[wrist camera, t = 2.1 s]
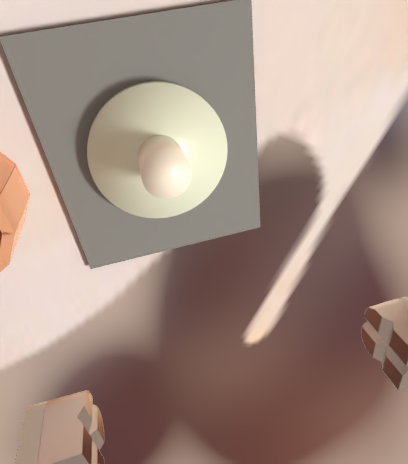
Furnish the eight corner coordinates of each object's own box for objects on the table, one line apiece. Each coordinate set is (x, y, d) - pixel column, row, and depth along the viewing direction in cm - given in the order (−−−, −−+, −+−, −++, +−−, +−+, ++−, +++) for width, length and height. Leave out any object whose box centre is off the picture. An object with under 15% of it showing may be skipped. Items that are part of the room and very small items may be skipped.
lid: (216, 67, 22) (235, 78, 19) (230, 197, 27) (246, 222, 24) (66, 96, 21) (60, 113, 18) (110, 225, 26) (111, 255, 23)
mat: (248, -3, 21) (251, -3, 20) (258, 224, 30) (260, 227, 29) (0, 36, 19) (-2, 36, 19) (90, 265, 28) (90, 268, 28)
